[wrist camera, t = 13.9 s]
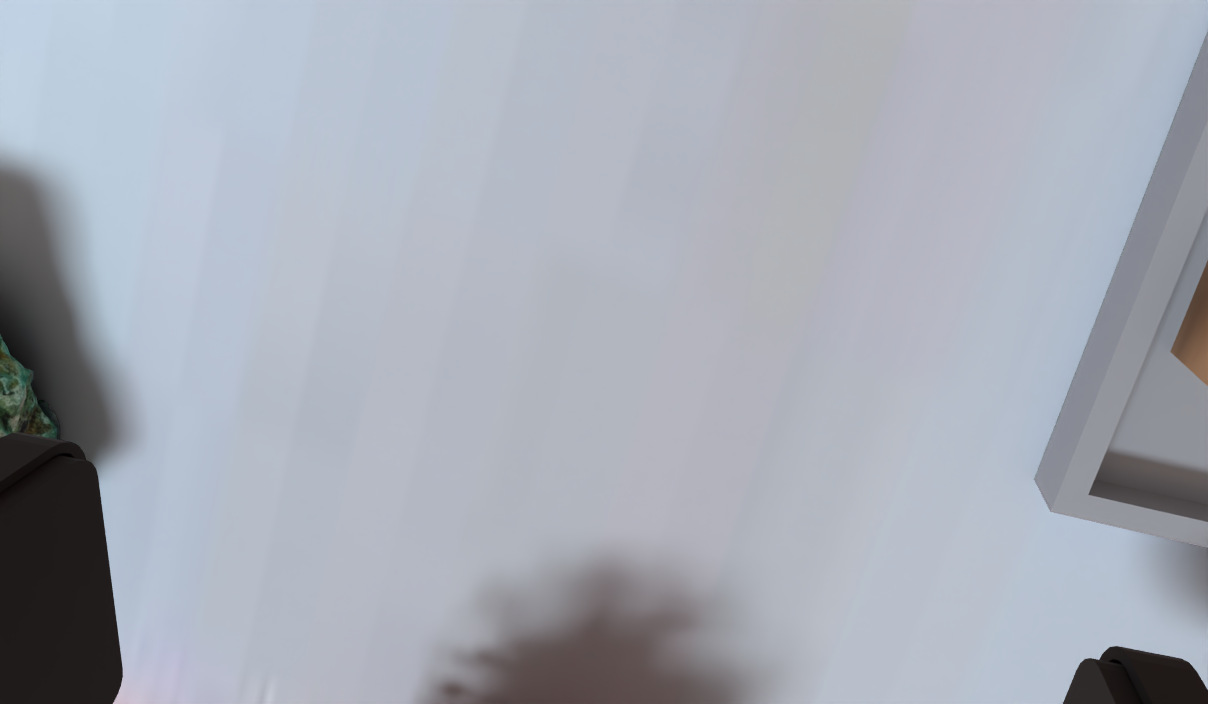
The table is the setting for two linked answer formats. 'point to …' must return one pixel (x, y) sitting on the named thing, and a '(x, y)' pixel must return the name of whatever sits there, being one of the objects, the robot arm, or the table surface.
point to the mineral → (22, 401)
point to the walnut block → (1195, 332)
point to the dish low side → (1145, 362)
